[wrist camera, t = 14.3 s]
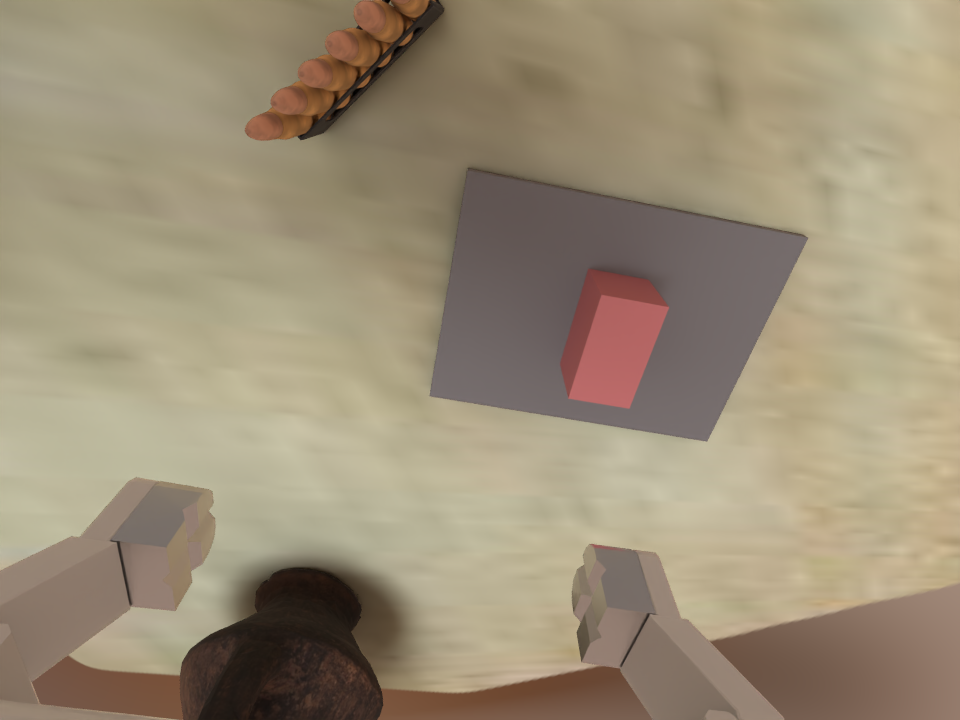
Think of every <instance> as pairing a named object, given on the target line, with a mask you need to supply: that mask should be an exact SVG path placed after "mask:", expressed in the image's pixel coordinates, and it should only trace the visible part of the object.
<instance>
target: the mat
mask: <svg viewBox="0 0 960 720" xmlns="http://www.w3.org/2000/svg"><path fill="white" fill-rule="evenodd" d="M807 239H808V238H807V237H805V236H804V235H801V234H796V233H791V232H786V231H781V230H776V229H771V228H766V227H761V226H756V225H751V224H746V223H741V222H736V221H731V220H726V219H721V218H716V217H710V216H705V215H700V214H695V213H690V212H685V211H680V210H675V209H670V208H665V207H660V206H655V205H650V204H645V203H640V202H635V201H630V200H625V199H620V198H615V197H610V196H605V195H600V194H595V193H590V192H585V191H580V190H575V189H570V188H565V187H560V186H555V185H550V184H545V183H540V182H535V181H530V180H525V179H520V178H515V177H509V176H504V175H499V174H494V173H489V172H484V171H479V170H474V169H469V168H468V171H467V177H466V183H465V189H464V194H463V200H462V206H461V212H460V218H459V224H458V230H457V236H456V242H455V248H454V254H453V260H452V266H451V272H450V278H449V284H448V290H447V295H446V301H445V307H444V313H443V319H442V325H441V331H440V337H439V343H438V349H437V355H436V361H435V367H434V373H433V379H432V385H431V390H430V396H432V397H438V398H444V399H450V400H456V401H462V402H468V403H474V404H481V405H487V406H493V407H499V408H505V409H511V410H517V411H523V412H529V413H536V414H542V415H548V416H554V417H560V418H566V419H572V420H578V421H584V422H591V423H597V424H603V425H609V426H615V427H621V428H627V429H633V430H640V431H646V432H652V433H658V434H664V435H670V436H676V437H682V438H688V439H695V440H701V441H708V439H709V437H710V435H711V433H712V431H713V429H714V427H715V424H716V422H717V420H718V418H719V416H720V414H721V412H722V410H723V408H724V406H725V404H726V402H727V400H728V398H729V396H730V394H731V392H732V390H733V388H734V386H735V384H736V382H737V380H738V378H739V376H740V374H741V372H742V370H743V368H744V366H745V364H746V362H747V360H748V358H749V356H750V354H751V352H752V350H753V348H754V346H755V344H756V342H757V340H758V338H759V336H760V334H761V332H762V330H763V328H764V326H765V324H766V322H767V320H768V318H769V316H770V314H771V312H772V310H773V308H774V306H775V304H776V302H777V300H778V298H779V296H780V294H781V292H782V290H783V288H784V286H785V284H786V282H787V280H788V278H789V275H790V273H791V271H792V269H793V267H794V265H795V263H796V261H797V259H798V257H799V255H800V253H801V251H802V249H803V247H804V245H805V243H806V241H807ZM588 269H594V270H599V271H604V272H610V273H615V274H620V275H626V276H631V277H636V278H642V279H647V280H649V281H650V282H651V284H652V285H653V286H654V288H655V289H656V290H657V292H658V293H659V294H660V296H661V297H662V298H663V300H664V301H665V302H666V304H667V305H668V306H669V309H668V312H667V314H666V317H665V319H664V322H663V324H662V327H661V329H660V332H659V335H658V337H657V340H656V342H655V345H654V347H653V350H652V352H651V355H650V357H649V360H648V363H647V365H646V368H645V370H644V373H643V375H642V378H641V380H640V383H639V385H638V388H637V391H636V393H635V396H634V398H633V401H632V403H631V406H630V408H629V409H628V408H622V407H616V406H610V405H604V404H598V403H592V402H586V401H580V400H574V399H568V395H567V391H566V387H565V383H564V379H563V375H562V371H561V367H560V362H561V358H562V355H563V352H564V348H565V345H566V342H567V338H568V335H569V332H570V328H571V325H572V322H573V318H574V315H575V312H576V308H577V305H578V302H579V298H580V295H581V292H582V288H583V285H584V282H585V278H586V275H587V272H588Z"/></svg>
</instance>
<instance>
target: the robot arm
mask: <svg viewBox="0 0 960 720" xmlns="http://www.w3.org/2000/svg"><path fill="white" fill-rule="evenodd" d="M213 503H214V500H213V492H212V491H211V490H209V489H204V488H198V487H193V486H187V485H181V484H175V483H169V482H163V481H155V480H149V479H143V478H137V477H136V478H134V479H132V480H130V481H129V482H127V483H126V485H125V486H124V487H123V488H122V489H121V490H120V491H119V493H118V494H117V495H116V496H115V497H114V498H113V499H112V501H111V502H110V503H109V504H108V505H107V506H106V507H105V509H104V510H103V511H102V512H101V513H100V514H99V515H98V517H97V518H96V519H95V520H94V521H93V522H92V523H91V525H90V526H89V527H88V528H87V529H86V530H85V531H84V533H83V534H82V535H81V536H80V537H74V536H71V537H69V538H67V539H65V540H63V541H61V542H59V543H57V544H55V545H52V546H50V547H48V548H46V549H44V550H42V551H40V552H38V553H36V554H34V555H32V556H30V557H28V558H26V559H23V560H21V561H19V562H17V563H15V564H13V565H11V566H9V567H7V568H5V569H3V570H1V571H0V720H176V719H167V718H158V717H149V716H140V715H131V714H122V713H112V712H104V711H95V710H86V709H77V708H68V707H59V706H50V705H41V704H40V702H39V700H38V698H37V695H36V692H35V690H34V687H33V685H32V681H34V680H35V679H36V678H38V677H39V676H40V675H42V674H43V673H44V672H46V671H47V670H48V669H50V668H51V667H52V666H54V665H55V664H57V663H58V662H59V661H61V660H62V659H63V658H65V657H66V656H67V655H69V654H70V653H72V652H73V651H74V650H76V649H77V648H78V647H80V646H81V645H82V644H84V643H85V642H86V641H88V640H89V639H90V638H92V637H93V636H95V635H96V634H97V633H99V632H100V631H101V630H103V629H104V628H105V627H107V626H108V625H109V624H111V623H112V622H113V621H115V620H116V619H118V618H119V617H120V616H122V615H123V614H124V613H126V612H127V611H128V610H130V606H131V607H141V608H151V609H161V610H171V611H176V609H177V607H178V606H179V604H180V602H181V600H182V599H183V597H184V595H185V593H186V592H187V590H188V588H189V587H190V585H191V583H192V576H191V571H192V570H193V569H195V568H196V567H198V566H200V565H201V564H203V562H204V560H205V559H206V557H207V555H208V553H209V551H210V548H211V545H212V542H213V539H214V535H215V527H216V526H215V518H214V517H213V515H212V514H211V513H210V512H209V510H210V508H211V507H212V505H213ZM583 559H584V565H583V566H581V567H580V568H578V569H577V571H576V574H575V577H574V580H573V587H572V605H573V612H574V614H575V616H576V617H577V618H578V619H579V620H580V622H581V623H580V626H579V628H578V630H577V638H578V644H579V650H580V656H581V662H583V663H589V664H596V665H602V666H608V667H615V668H621V669H620V671H621V673H622V674H623V676H624V677H625V679H626V680H627V682H628V683H629V685H630V686H631V687H632V689H633V691H634V692H635V694H636V695H637V697H638V698H639V700H640V701H641V702H642V704H643V706H644V707H645V709H646V710H647V712H648V713H649V715H650V716H651V717H652V719H653V720H784V718H783V716H782V715H781V714H780V713H779V712H778V711H776V709H775V708H774V707H773V706H772V705H771V704H770V703H769V702H768V701H767V700H766V699H765V698H764V697H763V696H762V695H761V694H760V693H759V692H758V691H757V690H756V689H755V688H754V687H753V686H752V685H751V684H750V683H749V682H748V681H747V680H746V679H745V678H744V677H743V675H742V674H741V673H740V672H739V671H737V669H736V668H735V667H734V666H733V665H732V664H731V663H730V662H729V661H728V660H727V659H726V658H725V657H724V656H723V655H722V654H721V653H720V652H719V651H718V650H717V649H716V648H715V647H714V646H713V645H712V644H711V643H710V642H709V641H708V640H707V639H706V638H705V637H704V636H703V635H702V634H701V632H700V631H699V630H698V629H697V628H696V627H695V626H694V625H693V624H692V623H691V622H690V621H689V620H687V619H681V616H680V614H679V611H678V608H677V605H676V602H675V600H674V597H673V594H672V591H671V588H670V586H669V583H668V580H667V577H666V575H665V572H664V569H663V566H662V563H661V561H660V558H659V556H658V555H657V554H656V553H654V552H646V551H639V550H631V549H625V548H617V547H610V546H602V545H595V544H589V545H588V546H587V547H586V549H585V551H584V554H583Z"/></svg>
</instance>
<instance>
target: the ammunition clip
mask: <svg viewBox="0 0 960 720" xmlns="http://www.w3.org/2000/svg"><path fill="white" fill-rule="evenodd" d="M390 1H391V2H392V4H393V6H394V7H393V6H391V5H389V4H388V3H389V2H390ZM443 12H444V8H443V6H442V5H441V3H440V2H439V0H382V1H381V0H374V1H367V0H365V1H361V2H359V3H358V4H357V5H356V6H355V8H354V17H355V20H356V22H357V24H358V27H357V28H348V29H345V30H342V31H334V32H332V33H330V34H329V35H328V36H327V38H326V41H325V46H326V49H327V50H328V52H329V53H330V54H331V55H322V56H320V57H318V58H316V59H311V60H308V61H306V62H304V63H303V64H302V65H301V66H300V67H299V69H298V77H299V78H300V80H301V81H298V82H296V83H294V84H293V85H291V86H289V87H285V88H283V89H280V90H278V91H277V92H276V93H275V94H274V95H273V97H272V99H271V105H272V108H271V109H270V110H269V111H267V112H265V113H263V114H260V115H257V116H255V117H254V118H252V119H251V120H250V121H249V122H248V123H247V125H246V128H245V132H246V134H247V135H248V136H249V137H250V138H253V139H256V140H272V139H290V138H293V137H296V136H297V137H298V138H299V139H300V140H304V139H307V138H310V137H313V136H316V135H319V134H322V133H324V132H325V131H326V130H327V129H328V128H329V127H330V126H331V125H332V124H333V123H334V122H335V121H336V120H337V119H338V118H339V117H340V116H341V115H342V114H343V113H344V112H345V111H346V110H347V109H348V108H349V107H350V106H351V105H352V104H353V103H354V102H355V101H356V100H357V99H358V98H359V97H360V96H361V95H362V94H363V93H364V92H365V91H366V90H367V89H368V88H369V87H370V86H371V85H372V84H373V83H374V82H375V81H376V80H377V79H378V78H379V77H380V76H381V75H382V74H383V73H384V72H385V71H386V70H387V69H388V68H389V67H390V66H391V65H392V64H393V63H394V62H395V61H396V60H397V59H398V58H399V57H400V56H401V55H402V54H403V53H404V52H405V51H406V50H407V49H408V48H409V47H410V46H411V45H412V44H413V43H414V42H415V41H416V40H417V39H418V38H419V37H420V36H421V35H422V34H423V33H424V32H425V31H426V30H427V28H428V27H429V26H430V25H431V24H432V23H433V22H434V21H435V20H436V19H437V18H438V17H439V16H440V15H441V14H442V13H443ZM364 30H365V31H364Z"/></svg>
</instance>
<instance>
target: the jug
mask: <svg viewBox="0 0 960 720" xmlns="http://www.w3.org/2000/svg"><path fill="white" fill-rule="evenodd" d="M357 595H358V594H357ZM255 607H256V610H257V613H255V614H254V615H252V616H250V617H248V618H246V619H244V620H242V621H239V622H237V623H235V624H233V625H230V626H228V627H226V628H223V629H221V630H219V631H217V632H214V633H212V634H210V635H209V636H207V637H206V638H204V639H203V640H201V641H200V642H199V643H197V644H196V645H195V646H194V647H192V648H191V649H190V650H189V652H188V653H187V655H186V656H185V658H184V660H183V662H182V666H181V673H180V697H181V704H182V712H183V719H184V720H377V719H378V717H379V716H380V713H381V710H382V706H383V697H382V691H381V688H380V685H379V683H378V680H377V678H376V676H375V674H374V672H373V670H372V667H371V665H370V663H369V662H368V661H367V659H366V658H365V657H364V656H363V655H362V653H361V651H360V649H359V647H358V645H357V643H356V641H355V639H354V637H353V635H352V633H351V631H352V630H353V628H354V627H355V626H356V624H357V623H358V621H359V619H360V618H361V617H360V613H361V604H359V603H358V599H357V597H356V596H355V594H354V593H353V592H352V590H351V589H349V588H348V587H347V586H346V585H344V584H343V583H342V582H341V581H340V580H338V579H337V578H334V577H333V576H331V575H329V574H327V573H323V572H319V571H315V570H304V569H287V570H281V571H279V572H277V573H274V574H273V575H272V576H271V577H270V579H269V581H268V580H266V581H264V582H263V583H262V584H261V586H260V587H259V588H258V590H257V591H256V600H255Z"/></svg>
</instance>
